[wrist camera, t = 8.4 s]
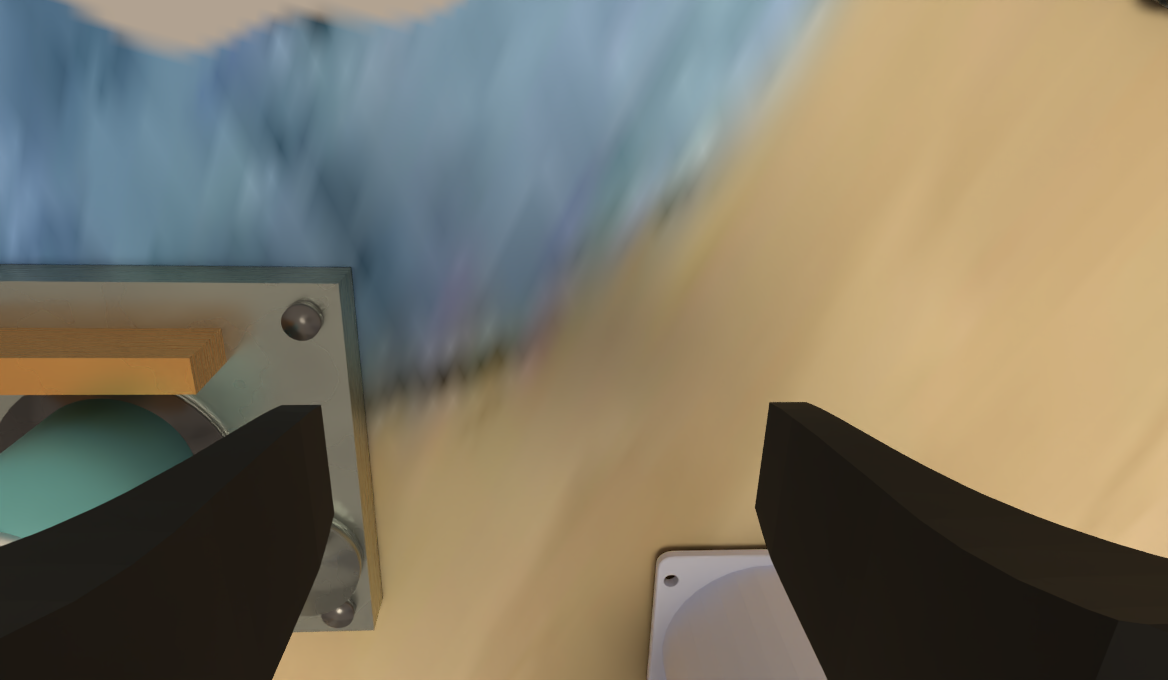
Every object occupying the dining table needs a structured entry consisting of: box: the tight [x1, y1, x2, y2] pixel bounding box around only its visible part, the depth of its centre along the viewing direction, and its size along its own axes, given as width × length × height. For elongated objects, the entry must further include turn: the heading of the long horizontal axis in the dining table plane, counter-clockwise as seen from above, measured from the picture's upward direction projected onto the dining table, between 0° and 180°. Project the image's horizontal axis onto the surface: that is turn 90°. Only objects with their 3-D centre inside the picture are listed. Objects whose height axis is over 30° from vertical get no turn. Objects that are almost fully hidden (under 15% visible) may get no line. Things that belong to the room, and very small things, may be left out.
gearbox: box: [0, 264, 383, 632], centre depth 21 cm, size 12×11×4 cm
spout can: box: [0, 399, 193, 546], centre depth 18 cm, size 4×4×6 cm
